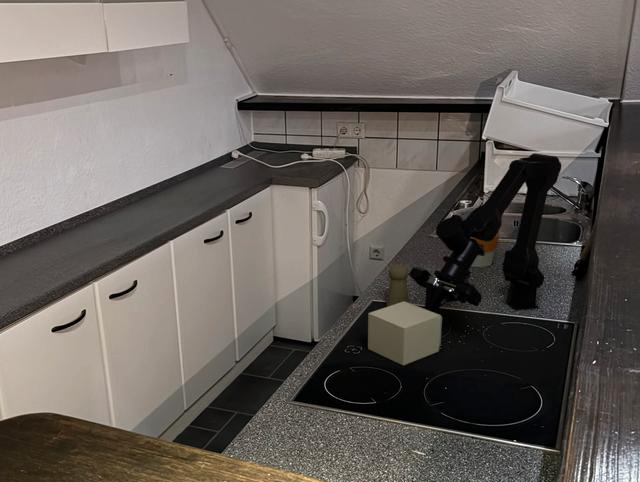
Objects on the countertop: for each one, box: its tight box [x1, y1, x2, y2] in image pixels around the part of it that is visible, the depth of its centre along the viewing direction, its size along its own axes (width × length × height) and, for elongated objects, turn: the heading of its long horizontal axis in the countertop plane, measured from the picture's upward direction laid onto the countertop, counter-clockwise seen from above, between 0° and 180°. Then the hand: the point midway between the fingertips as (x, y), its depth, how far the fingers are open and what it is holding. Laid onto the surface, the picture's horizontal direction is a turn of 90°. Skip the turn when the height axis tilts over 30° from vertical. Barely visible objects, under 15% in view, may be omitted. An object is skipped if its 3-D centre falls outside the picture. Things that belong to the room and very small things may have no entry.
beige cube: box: [367, 301, 442, 366], centre depth 176 cm, size 12×12×9 cm
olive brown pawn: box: [385, 264, 410, 307], centre depth 202 cm, size 6×6×11 cm
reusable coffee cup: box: [459, 209, 500, 268], centre depth 233 cm, size 13×13×15 cm
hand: (425, 315), depth 179 cm, fingers closed, pressing on drawer
